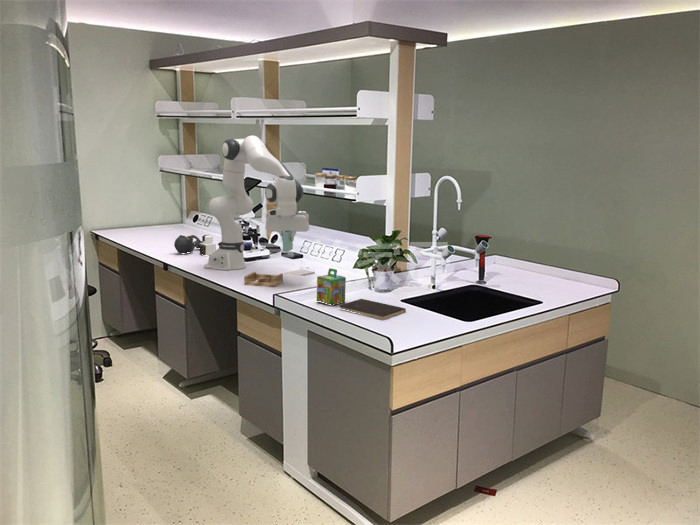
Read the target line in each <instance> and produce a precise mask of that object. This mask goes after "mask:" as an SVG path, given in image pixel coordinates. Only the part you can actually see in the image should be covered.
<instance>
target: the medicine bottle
mask: <svg viewBox="0 0 700 525" xmlns="http://www.w3.org/2000/svg"><path fill="white" fill-rule="evenodd" d="M201 238H202V239H201V241H202V242H203V243H200V249H199V255H200V254H203V255H211V254H212V253H214V252H215V251H216V250H217V244H216V243H215V242H214V238H213V235H211V234H204V235H202V237H201ZM203 255H202V256H203Z"/></svg>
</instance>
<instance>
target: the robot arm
mask: <svg viewBox="0 0 700 525" xmlns="http://www.w3.org/2000/svg"><path fill="white" fill-rule="evenodd" d="M221 154H222V155H223V158H224V162H223V169H222V170H223V172H222V184H223V186H224V188H226V189H227V190H229V195H220V196H217V197H213V198H211V199H210V200H209V203H208V209H209V212H210V214H211V216H213V217H214V218H216V220H217V222H218V223H219V226H220V234H221V241H220V242H219V243H217V246H218V248H216V251H215V252H214V253H212V254H211V255H210V256H208V260H207V261H208V263H205V264H204V266H203V267H205V269H214V270H220V271H231V270H241V269H245V268H247V265H246V262H245V257H244V241H243V227H242V226H241V225H240V224H239V223H237V222H236V221H235V218H234V217H236V216H243V215H247V214H250V213H251V212H252V210H253V208H254V202H253V199H252V198H251V197H250V196H249V195H248V194H247V192H246V189H245V172H246V171H245V170H246V162H248V165H250V166H251V168H252V169H253V170H255V171H257V172H260V173H264V174H265V173H267V174H271V175H274V176H275V177H277V180H275V181H273V182H270V183H269V184H267V186H266V187H265V189H264V190H265V192H264V193H265V198H266V200H267V201H268V202H270V203H272V204H276V205H277V207H274V208H273V209H270V210H267V215H268V216H267V217H266V220H265V229H266V231H267V232H278V234H279V236H280V237H281V241H282V242H283V232H285V231H292V234H293V235H292V237H290V241H293V242H294V240H295V236H296V234H297V233H298V232H304V233H305V232H308V231H309V230H310V223H309V221H310V214H309V213H308V212H307V211H297V210H298V209H297V208H298V206H297V205H298V204H297V203H299V202H300V201H301V200H302V199H303V196H304V189H303V186H302V185H301V184H300V182H299V181H297V180H296V179H295V178H294V176H293V175H292V174H291V173H290V171H289V170H288V169H287V167H286V165H284V163H283V162H281V161H280V160H279V159H277V158H276V157H275V156H273V154H271V152H270V151H269V150H268V148H267V147H266V144H265V143H264V142H263V141H262V140H261V139H260V138H259V137H258V136H256V135H248V136H247V137H245V138H235V139H233V138H229V139H228V138H227V139H226V140H224V141H223V143H222V146H221Z"/></svg>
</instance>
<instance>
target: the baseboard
mask: <svg viewBox="0 0 700 525" xmlns="http://www.w3.org/2000/svg"><path fill="white" fill-rule="evenodd" d="M307 269H308V270H307ZM307 269H305V268H303V267H302V266H301V268H300V269H296V270H290V271H287V272H281V273H279V275H280V274H283V275H289V276H291V275H292V276H304V277H305V276H310V275H314V274H316V272H315V269H313V271H312V269H310V267H307Z"/></svg>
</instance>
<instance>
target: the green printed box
mask: <svg viewBox="0 0 700 525" xmlns="http://www.w3.org/2000/svg"><path fill="white" fill-rule="evenodd" d="M332 272H333V273H332ZM337 273H338V269H336V268H335V269H334V268H328V272H327V274H324V275H319V276H317V278H316V301H321V302H324V303H327V304H331V305H333V304H337V303H341V302H345V303H346V286H347V285H346V280H347V277H345V276H343V275H339V274H337ZM341 304H342V303H341ZM337 305H338V304H337ZM333 306H334V305H333Z"/></svg>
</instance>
